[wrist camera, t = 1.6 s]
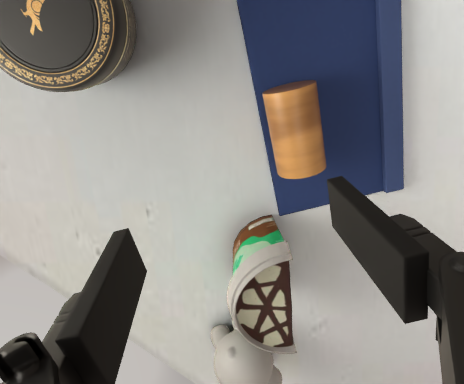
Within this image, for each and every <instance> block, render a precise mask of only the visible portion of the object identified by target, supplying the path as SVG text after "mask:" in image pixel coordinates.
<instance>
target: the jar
mask: <svg viewBox="0 0 464 384" xmlns="http://www.w3.org/2000/svg"><path fill="white" fill-rule="evenodd" d="M135 43H136V20H135V15H134V11H133V7H132V4H131V2H130V0H0V68H1V69H2V70H3V71H5V72H6V73H7V74H9V75H10V76H12V77H13V78H15V79H17V80H18V81H20V82H22V83H24V84H26V85H29V86H32V87H34V88H38V89H41V90H46V91H53V92H69V91H78V90H83V89H87V88H90V87H93V86H95V85H99V84H102V83H105V82H107V81H109V80H111V79H112V78H114V77H115V76H117V75H118V74H119V73H120V72H121V71H122V70H123V69H124V68H125V66H126V65H127V64H128V62H129V60H130V58H131V56H132V54H133V51H134V47H135Z"/></svg>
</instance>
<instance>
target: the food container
mask: <svg viewBox="0 0 464 384" xmlns="http://www.w3.org/2000/svg"><path fill="white" fill-rule="evenodd" d="M290 260H293V258H292V256H291V251H290V248H289V245H288V242H287V241H284V239H283V237H282V235H281V233H280V231H279V229H278V227H277V225H276V223H275V221H274V219H273V217H272V215H268V216H263V217H260V218H258V219H256V220H254V221H252V222H250V223H249V224H248V225H247V226H245V227H244V228H243V229H242V230H241V231H240V233H239V234H238V236H237V238H236V240H235V242H234V247H233V276H232V278H231V280H230V283H229V285H228V290H227V305H228V309H229V312H230V314H231V317H232V320H233V322H234V324H235V326H236V328H237V329H238V330H239V332H240V333H241V334H242V336H243V337H244V338H245V339H246V340H247V341H248V342H249V343H251V344H252V345H254V346H256V347H258V348H260V349H262V350H265V351H268V352H272V353H279V354H293V353H297V352H296V349H295V345H294V341H293V335H292V302H291V288H290V269H289V261H290Z"/></svg>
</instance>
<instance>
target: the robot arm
mask: <svg viewBox="0 0 464 384" xmlns="http://www.w3.org/2000/svg"><path fill="white" fill-rule="evenodd" d="M327 186H328V194H329V202H330V210H331V218H332V226H333V228H334V229H335V230H336V232H337V233H338V234H339V236H340V237H341V238H342V240H343V241H344V242H345V244H346V245H347V247H348V248H349V249H350V251H351V252H352V253H353V255H354V256H355V257H356V259H357V260H358V261H359V263H360V264H361V265H362V267H363V268H364V269H365V271H366V272H367V273H368V275H369V276H370V277H371V279H372V280H373V281H374V283H375V284H376V285H377V287H378V288H379V290H380V291H381V292H382V294H383V295H384V296H385V298H386V299H387V300H388V302H389V303H390V304H391V306H392V307H393V308H394V310H395V311H396V312H397V314H398V315H399V316H400V318H401V319H402V320H403V322H404V323H405V324H406V323H410V322H415V321H419V320H423V319H428V306H429V307H430V308H431V309H432V310H433V311H434V313H435V314H436V315H437V322H436V340H437V341H438V343H439V353H440V363H441V372H442V382H443V384H464V252H456V251H455V250H454V249H452V248H451V247H450V246H448V245H447V244H446V243H445V242H443V241H442V240H441V239H439V238H438V237H437V236H436V235H434V234H433V233H430V231H429V230H428V229H427V228H425V227H423V225H421V224H420V223H419V222H417V221H416V220H415V219H413V218H411V217H408V216H405V215H403V214H398V215H394V216H390V217H389V216H388V215H386V214H385V213H384V212H383V211H382V210H381V209H380V208H378V207H377V206H376V205H375V204H374V203H373V202H372V201H370V200H369V199H368V198H367V197H366V196H365V195H364V194H362V193H361V192H360V191H359V190H358V189H357V188H355V187H354V186H353V185H352V184H351V183H350V182H349V181H347V180H346V179H345V178H344V177H343V176H338V177H334V178H330V179H327ZM146 273H147V270H146V268H145V266H144V263H143V261H142V259H141V256H140V254H139V252H138V249H137V247H136V245H135V242H134V240H133V238H132V235H131V233H130V231H129V228H127V229H123V230H119V231H115V232H114V233H113V234H112V236H111V238H110V240H109V242H108V244H107V245H106V247H105V249H104V251H103V253H102V255H101V256H100V258H99V260H98V262H97V264H96V266H95V268H94V269H93V271H92V273H91V275H90V277H89V279H88V280H87V282H86V284H85V286H84V288H83V290H82V292H80V293H75V294H74V295H73V296H72V297H71V298H70V299H69V300H68V301H67V302H66V303H65V304H64V306H63V307H62V309H61V311H60V313H59V316H57V318H56V319H55V321H54V324H53V325H52V326H51V328H50V330H49V331H48V333H47V335H46V336H45V338H44V340H43V342H41V341H40V339H39V338H38V336H37V335H36V334H35V333H26V334H23V335H20V336H18V337H16V338H14V339H12V340H11V341H9V342H8V343H6V344H5V345H4V346H3V347H2V348H1V349H0V378H1V379H2V380H3V383H1V384H115V381H116V378H117V374H118V371H119V367H120V364H121V360H122V357H123V353H124V350H125V346H126V343H127V339H128V336H129V332H130V329H131V325H132V322H133V318H134V315H135V311H136V308H137V304H138V301H139V297H140V294H141V290H142V287H143V283H144V280H145V276H146Z"/></svg>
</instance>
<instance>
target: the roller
mask: <svg viewBox="0 0 464 384" xmlns="http://www.w3.org/2000/svg"><path fill="white" fill-rule="evenodd" d="M262 95H263V100H264V105H265V111H266V116H267V121H268V126H269V132H270V137H271V142H272V147H273V153H274V158H275V163H276V169H277V173H278V175H279V176H280V177H282V178H286V179H301V178H307V177H311V176H314V175H317V174H319V173H321V172H322V171H323V170H324V169H325V168H326V158H325V149H324V141H323V133H322V124H321V116H320V108H319V99H318V91H317V83H316V81H315V80H306V81H299V82H293V83H288V84H284V85H280V86H277V87H274V88H271V89H268V90H266V91H264V92H263V93H262Z"/></svg>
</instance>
